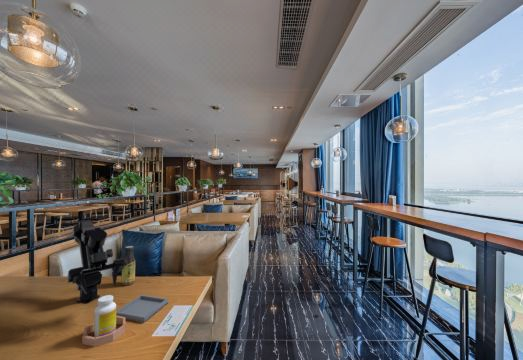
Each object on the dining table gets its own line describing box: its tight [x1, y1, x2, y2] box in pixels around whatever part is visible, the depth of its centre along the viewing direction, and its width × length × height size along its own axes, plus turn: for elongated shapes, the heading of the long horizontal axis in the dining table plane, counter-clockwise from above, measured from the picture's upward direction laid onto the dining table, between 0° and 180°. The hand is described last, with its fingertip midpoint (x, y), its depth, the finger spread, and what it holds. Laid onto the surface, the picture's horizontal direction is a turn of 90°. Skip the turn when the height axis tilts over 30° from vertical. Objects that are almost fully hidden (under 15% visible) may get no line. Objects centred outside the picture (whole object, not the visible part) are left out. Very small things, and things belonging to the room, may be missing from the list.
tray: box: [116, 294, 169, 323], centre depth 97 cm, size 15×15×2 cm
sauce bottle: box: [121, 245, 136, 287], centre depth 122 cm, size 7×6×20 cm
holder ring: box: [81, 316, 127, 348], centre depth 82 cm, size 13×13×2 cm
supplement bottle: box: [93, 294, 117, 338], centre depth 82 cm, size 7×7×13 cm
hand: (101, 289), depth 87 cm, fingers open, 9 cm apart
